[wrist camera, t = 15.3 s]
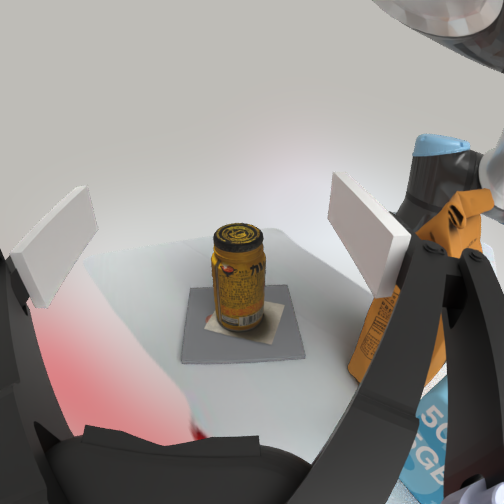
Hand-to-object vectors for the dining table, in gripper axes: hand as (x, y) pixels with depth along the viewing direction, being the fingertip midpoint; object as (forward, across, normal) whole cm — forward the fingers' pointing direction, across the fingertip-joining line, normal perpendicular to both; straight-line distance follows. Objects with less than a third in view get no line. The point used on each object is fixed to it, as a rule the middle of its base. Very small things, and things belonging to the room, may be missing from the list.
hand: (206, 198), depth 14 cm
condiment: (+12, +2, -22) cm, 25 cm away
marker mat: (+12, +2, -22) cm, 25 cm away
